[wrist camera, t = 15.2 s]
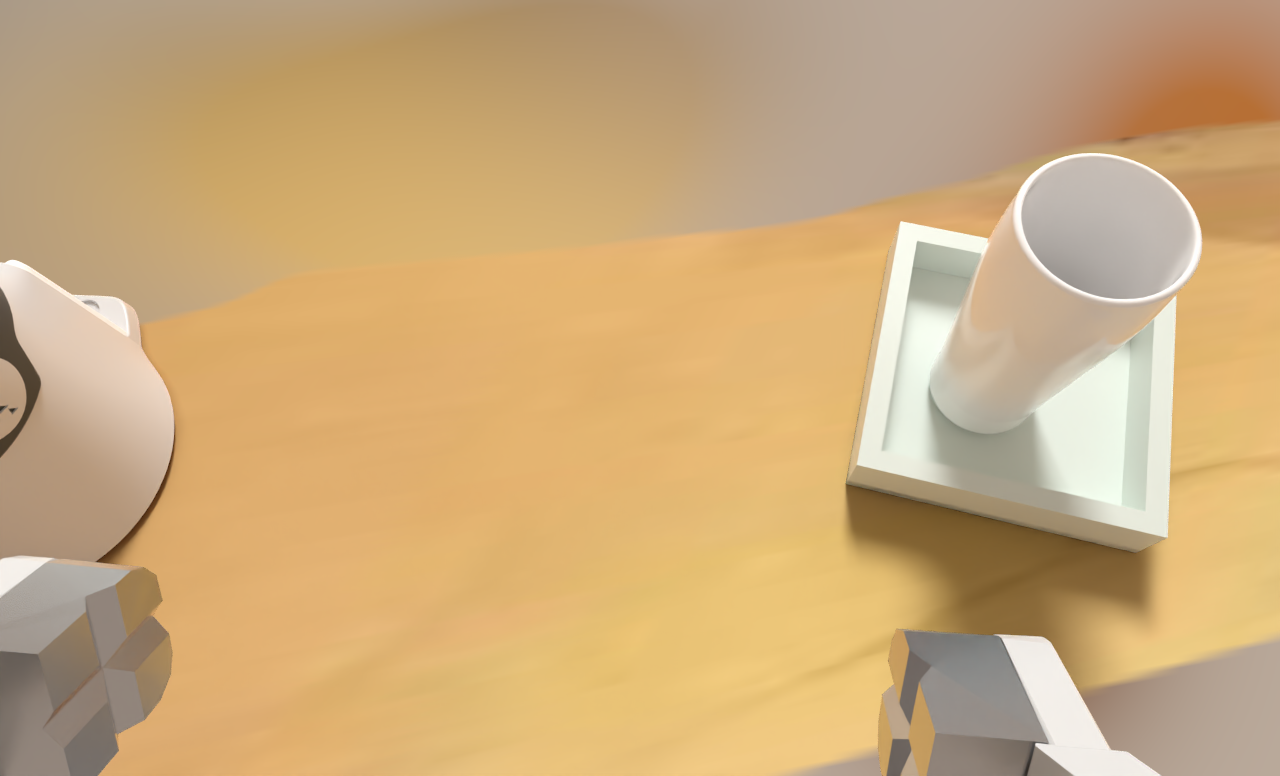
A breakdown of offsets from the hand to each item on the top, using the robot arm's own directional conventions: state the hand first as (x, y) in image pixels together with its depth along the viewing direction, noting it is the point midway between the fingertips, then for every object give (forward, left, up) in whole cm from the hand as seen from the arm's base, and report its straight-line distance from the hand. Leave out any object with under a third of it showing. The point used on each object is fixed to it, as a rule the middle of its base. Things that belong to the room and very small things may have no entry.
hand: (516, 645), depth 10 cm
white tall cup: (+13, +21, -33) cm, 41 cm away
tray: (+14, +21, -33) cm, 42 cm away
